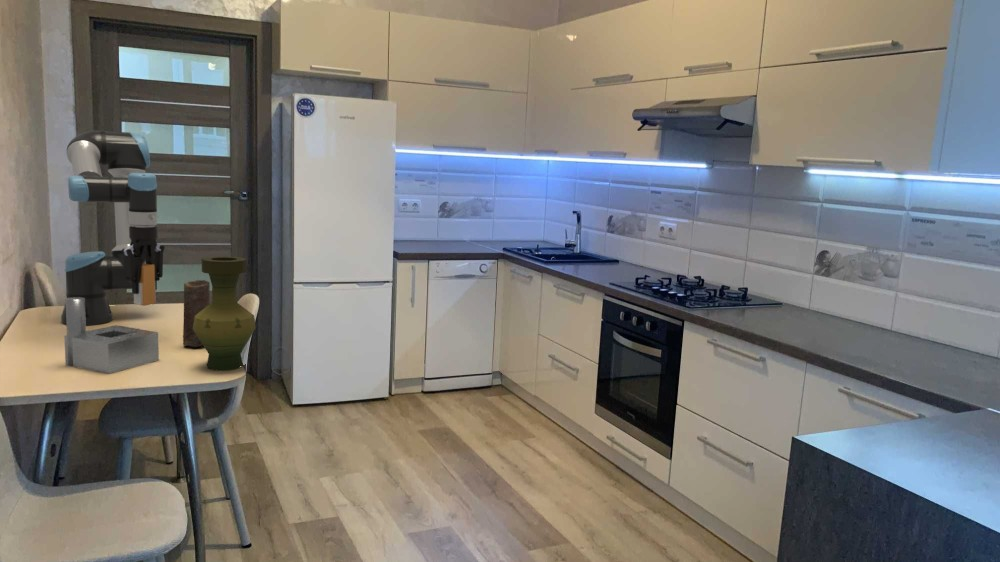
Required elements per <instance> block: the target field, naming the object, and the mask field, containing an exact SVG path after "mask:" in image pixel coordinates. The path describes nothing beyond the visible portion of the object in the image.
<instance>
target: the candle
mask: <svg viewBox="0 0 1000 562" xmlns="http://www.w3.org/2000/svg"><path fill="white" fill-rule="evenodd" d="M210 283H211V282H210V281H207V280H204V279H203V280H202V279H194V280H190V281H187V282H184V283H183V325H182V327H183V329H182V331H183V332H182V343H183V346H187V347H190V348H199V347H201V346H203V344H202V343H201V341H200V340H199V338H198V336H197V335H196V333H195V332H194V330H193V322H194V316H195V315H196V314H198V313H199V312H200V311H202V310H203V309H204V308H205V307H207V306H208V305H209V304H210V288H211V287H210V286H211V285H210Z"/></svg>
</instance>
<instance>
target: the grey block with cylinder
mask: <svg viewBox="0 0 1000 562" xmlns="http://www.w3.org/2000/svg"><path fill="white" fill-rule="evenodd" d="M65 303H66V321H67V324H66V335H63V337H64V354H65V357H64V359H65V366H69V367H74V368H78V367H79V368H80V369H83V368H84V370H89V371H93V372H97V373H98V372H100V373H102V374H103V373H104V374H108V375H109V374H113V373H118V372H120V371H124V370H129V369H131V368H136V367H138V366H143V365H146V364H149V363H153V362H157V361H159V360H160V356H159V354H160V353H159V332H158V331H152V330H145V329H140V328H136V327H135V328H133V327H129V326H123V325H119V324H117V325H112V326H107V327H102V328H97V329H92V330H87V325H86V318H85V298H82V297H73V298H67V297H66V298H65Z"/></svg>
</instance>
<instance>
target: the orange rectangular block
mask: <svg viewBox="0 0 1000 562" xmlns="http://www.w3.org/2000/svg"><path fill="white" fill-rule="evenodd" d="M135 279H136V278H135ZM140 283H142V294H143V305H141V306H143V307H144V306H145V307H146V306H151V305H155V304H156V302H155V294H156V291H155V266H154V265H153V264H146V263H143V264H142V271H141V277H140ZM136 305H138V304H136Z"/></svg>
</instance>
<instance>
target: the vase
mask: <svg viewBox="0 0 1000 562" xmlns="http://www.w3.org/2000/svg"><path fill="white" fill-rule="evenodd" d="M201 272H202V273H203V274H208V276H209V280H210V283H211V294H212V295H211V299H212V300H211V302H210V303H209V305H208V306H207V307H205V308H204V309H203V310H202V311H200V312H199V313H198V314H196V315H195V316H194V322H193V330H194V332H195V333H196V335H197V336H198V338H199V340H200V341H201V343H202V344H203V345H202V347H203V348H204V349H205V350H206V352H207V355H208V357H207V362H206V366H207V367H206V368H207V369H208V370H211V371H221V372H222V371H223V372H224V371H226V372H227V371H234V370H237V368H238V369H240V368H239V367H240V366H242V367H243V366H244V364H243V363H244V362H243V359H242V358H243V357H242V355H241V354H242V351H243V350H244V348H245V347H246V345H247V343H248V342H249V340H250V339H251V337H252V335H253V334H254V332H255V331H256V328H257V326H256V319H255V315H254V314H253V313H252V312H250V311H249V310H248V309H246V308H245V307H244V306H242V305H241V304H240V303H238V302H237V297H238V296H237V286H238V281H239V277H240V274H245V273H246V272H247V259H246V258H244V257H239V256H226V255H225V256H223V255H222V256H206V257H203V258H201Z"/></svg>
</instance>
